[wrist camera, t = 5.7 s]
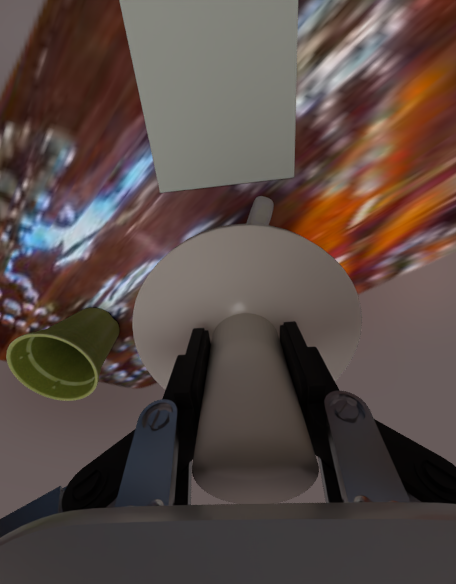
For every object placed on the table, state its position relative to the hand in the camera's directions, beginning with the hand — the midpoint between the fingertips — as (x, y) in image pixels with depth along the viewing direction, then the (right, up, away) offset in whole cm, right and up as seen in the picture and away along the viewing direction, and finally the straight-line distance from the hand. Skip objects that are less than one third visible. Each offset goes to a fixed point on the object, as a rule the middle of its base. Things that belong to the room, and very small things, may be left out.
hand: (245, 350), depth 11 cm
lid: (0, +1, +2) cm, 2 cm away
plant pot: (-19, -2, +20) cm, 28 cm away
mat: (-2, +21, +9) cm, 22 cm away
